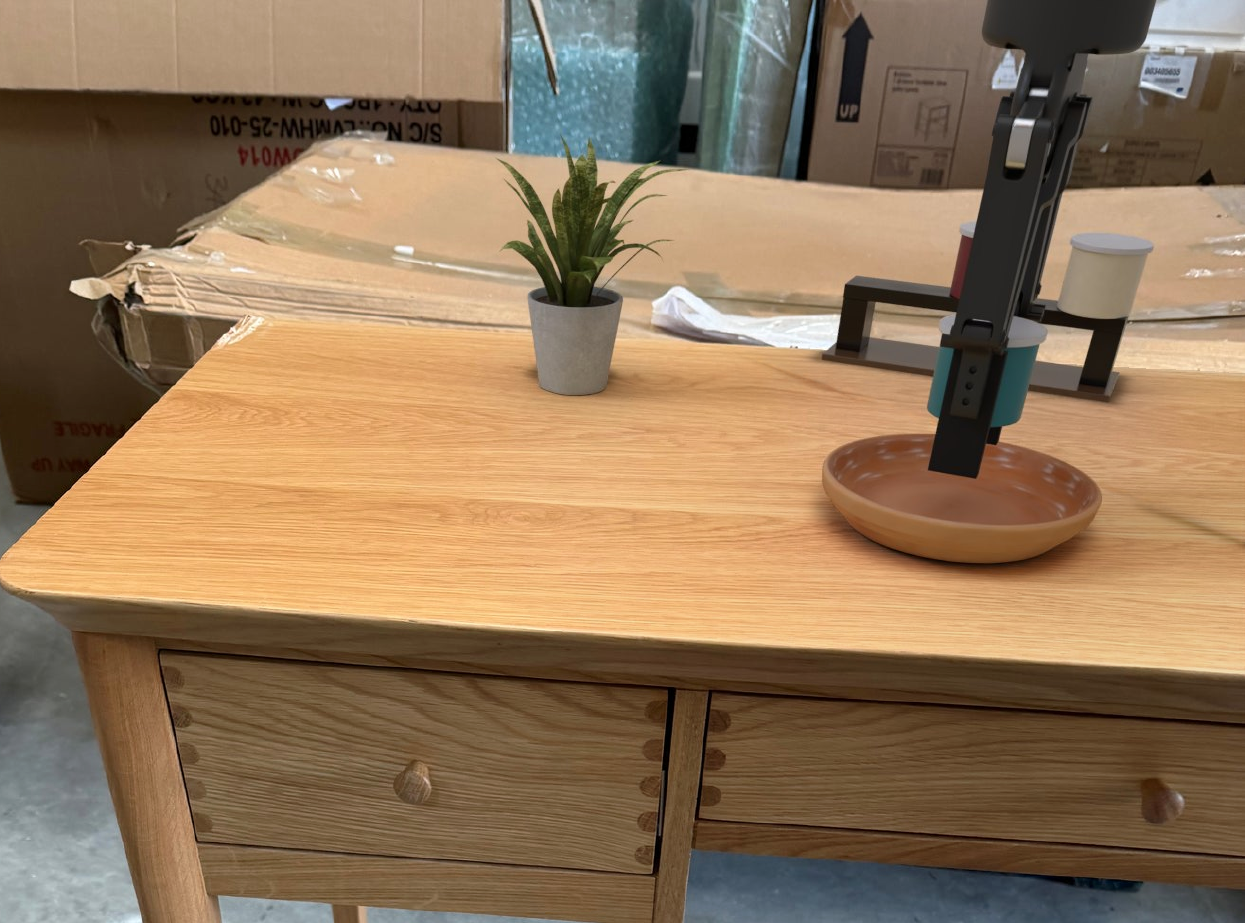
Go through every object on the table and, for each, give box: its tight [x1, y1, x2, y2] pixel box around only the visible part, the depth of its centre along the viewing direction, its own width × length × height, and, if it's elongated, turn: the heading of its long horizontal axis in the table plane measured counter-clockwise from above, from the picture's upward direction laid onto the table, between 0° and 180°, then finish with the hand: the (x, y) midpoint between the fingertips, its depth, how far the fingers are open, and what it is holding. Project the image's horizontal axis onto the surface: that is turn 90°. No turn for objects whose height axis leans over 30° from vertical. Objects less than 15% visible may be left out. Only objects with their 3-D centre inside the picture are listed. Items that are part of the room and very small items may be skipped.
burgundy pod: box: [950, 220, 977, 299], centre depth 91 cm, size 6×6×5 cm
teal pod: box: [926, 313, 1049, 428], centre depth 67 cm, size 6×6×5 cm
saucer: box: [821, 432, 1103, 564], centre depth 72 cm, size 16×16×3 cm
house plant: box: [495, 134, 690, 396], centre depth 86 cm, size 14×14×16 cm
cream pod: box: [1057, 232, 1155, 319], centre depth 88 cm, size 6×6×5 cm
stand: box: [821, 275, 1130, 403], centre depth 94 cm, size 7×22×6 cm, turn 64°
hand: (964, 454), depth 70 cm, fingers closed on teal pod, 6 cm apart
